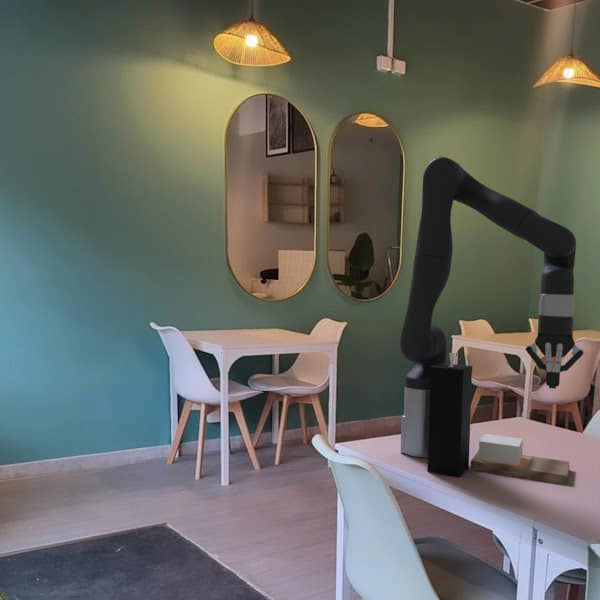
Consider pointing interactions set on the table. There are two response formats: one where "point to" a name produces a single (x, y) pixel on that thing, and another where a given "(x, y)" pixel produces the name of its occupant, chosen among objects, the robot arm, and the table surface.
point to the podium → (527, 468)
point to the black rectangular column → (449, 418)
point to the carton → (501, 449)
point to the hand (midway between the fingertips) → (552, 387)
